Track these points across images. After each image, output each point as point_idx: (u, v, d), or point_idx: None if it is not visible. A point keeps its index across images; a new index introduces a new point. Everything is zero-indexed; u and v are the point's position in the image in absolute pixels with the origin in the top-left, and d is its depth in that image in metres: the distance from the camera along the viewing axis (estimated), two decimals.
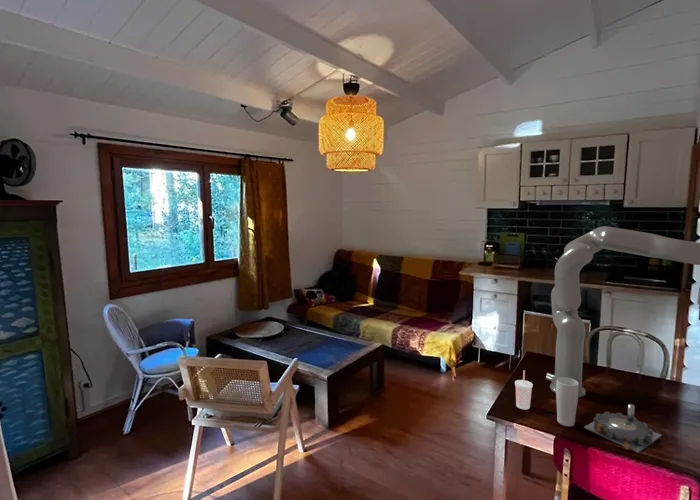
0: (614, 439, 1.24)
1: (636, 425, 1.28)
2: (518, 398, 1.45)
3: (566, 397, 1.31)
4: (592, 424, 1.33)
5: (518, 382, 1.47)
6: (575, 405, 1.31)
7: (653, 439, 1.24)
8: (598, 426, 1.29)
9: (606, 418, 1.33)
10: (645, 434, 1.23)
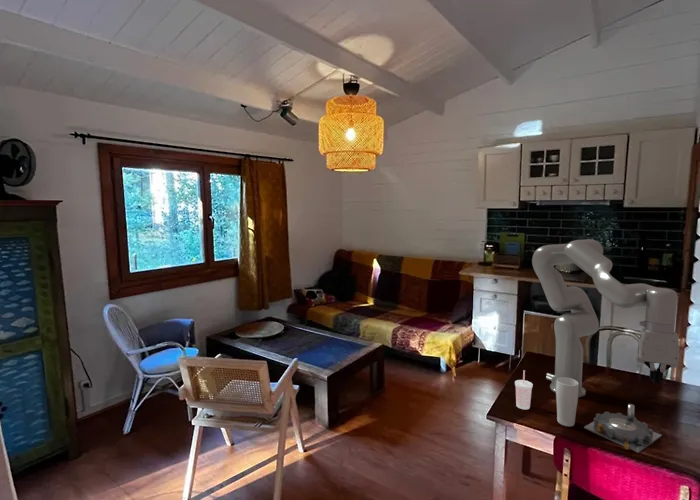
0: (614, 439, 1.24)
1: (636, 425, 1.28)
2: (518, 398, 1.45)
3: (566, 397, 1.31)
4: (592, 424, 1.33)
5: (518, 382, 1.47)
6: (575, 405, 1.31)
7: (653, 439, 1.24)
8: (598, 426, 1.29)
9: (606, 418, 1.33)
10: (645, 434, 1.23)
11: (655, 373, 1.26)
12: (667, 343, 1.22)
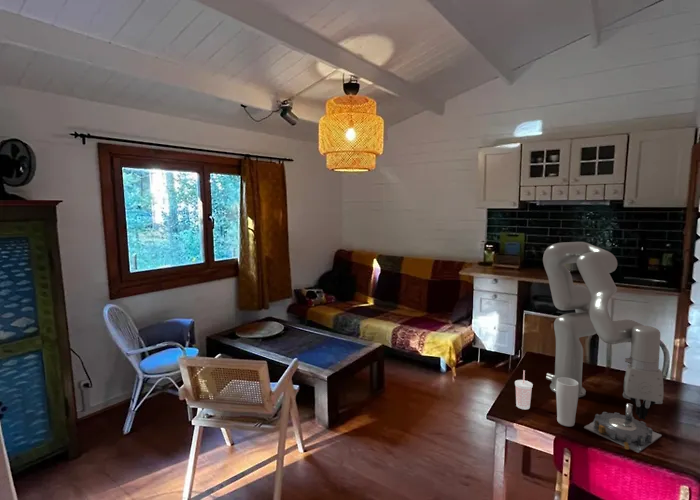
0: None
1: (635, 424, 1.28)
2: (518, 398, 1.45)
3: (566, 397, 1.31)
4: (592, 424, 1.33)
5: (518, 382, 1.47)
6: (575, 405, 1.31)
7: (653, 439, 1.24)
8: (600, 427, 1.28)
9: (605, 418, 1.32)
10: (646, 433, 1.23)
11: (641, 409, 1.29)
12: (652, 380, 1.26)
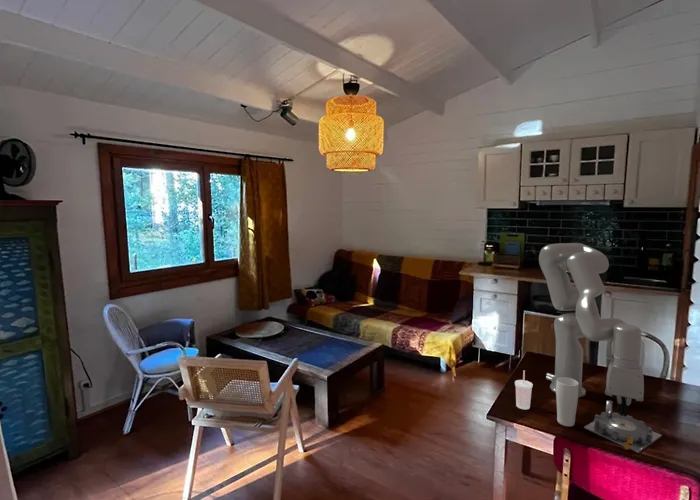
0: (614, 439, 1.24)
1: (622, 418, 1.32)
2: (518, 398, 1.45)
3: (566, 397, 1.31)
4: (592, 424, 1.33)
5: (518, 382, 1.47)
6: (575, 405, 1.31)
7: (653, 439, 1.24)
8: (629, 439, 1.21)
9: (610, 426, 1.28)
10: (641, 422, 1.29)
11: (622, 406, 1.31)
12: (632, 378, 1.28)
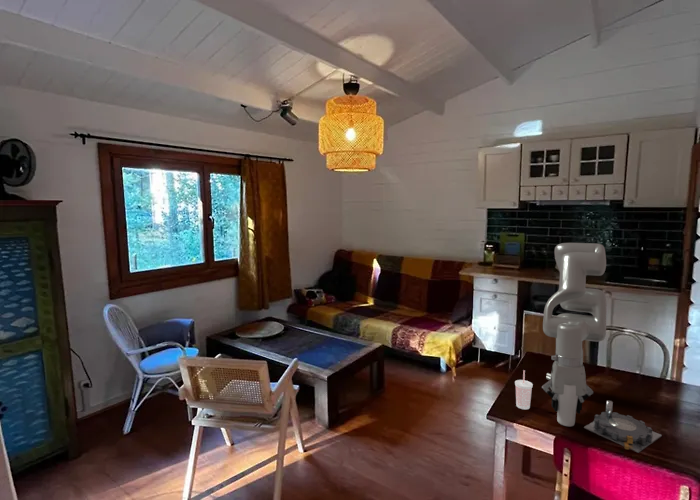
0: (614, 439, 1.24)
1: (622, 418, 1.32)
2: (518, 398, 1.45)
3: (566, 397, 1.31)
4: (592, 424, 1.33)
5: (518, 382, 1.47)
6: (575, 405, 1.31)
7: (653, 439, 1.24)
8: (629, 439, 1.21)
9: (610, 426, 1.28)
10: (641, 422, 1.29)
11: (556, 402, 1.33)
12: (576, 376, 1.30)
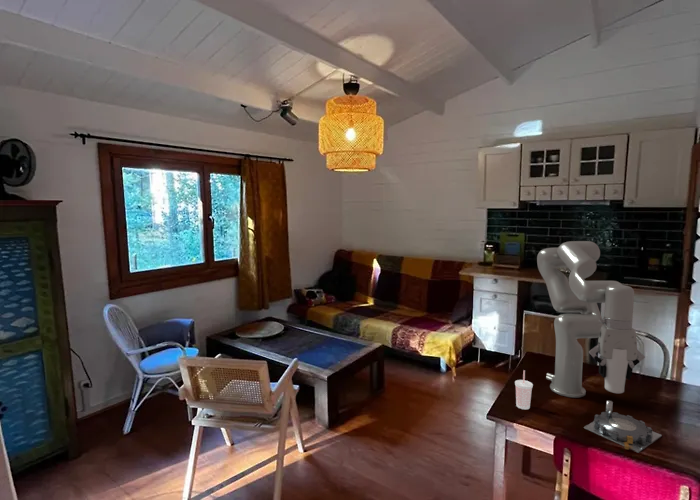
0: (614, 439, 1.24)
1: (622, 418, 1.32)
2: (518, 398, 1.45)
3: (616, 361, 1.24)
4: (592, 424, 1.33)
5: (518, 382, 1.47)
6: (625, 371, 1.25)
7: (653, 439, 1.24)
8: (629, 439, 1.21)
9: (610, 426, 1.28)
10: (641, 422, 1.29)
11: (605, 368, 1.27)
12: (626, 339, 1.23)
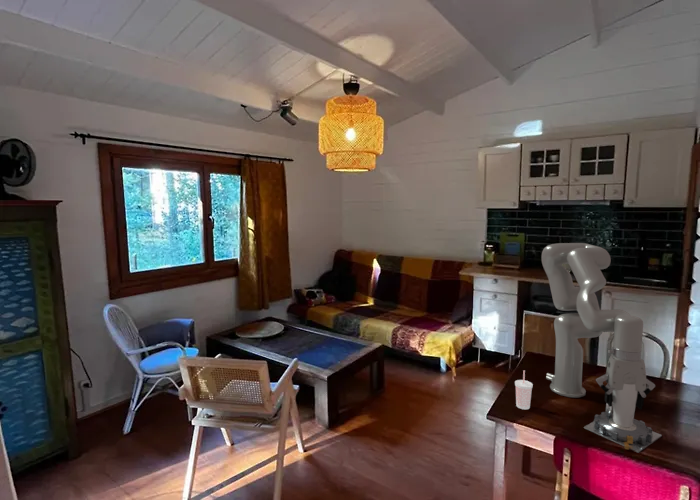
0: (614, 439, 1.24)
1: None
2: (518, 398, 1.45)
3: (625, 396, 1.25)
4: (592, 424, 1.33)
5: (518, 382, 1.47)
6: (634, 405, 1.25)
7: (653, 439, 1.24)
8: (629, 439, 1.21)
9: (610, 426, 1.28)
10: (641, 422, 1.29)
11: (611, 396, 1.27)
12: (636, 370, 1.24)
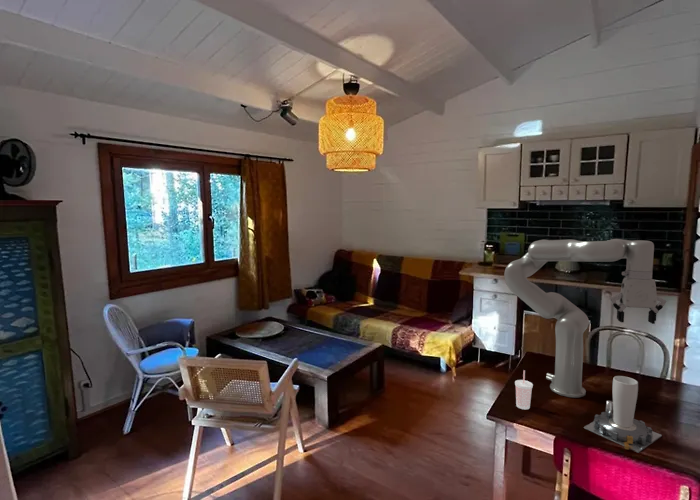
0: (614, 439, 1.24)
1: None
2: (519, 398, 1.45)
3: (625, 396, 1.25)
4: (592, 424, 1.33)
5: (518, 382, 1.47)
6: (634, 405, 1.25)
7: (653, 439, 1.24)
8: (629, 439, 1.21)
9: (610, 426, 1.28)
10: (641, 422, 1.29)
11: (623, 313, 1.40)
12: (647, 288, 1.37)
